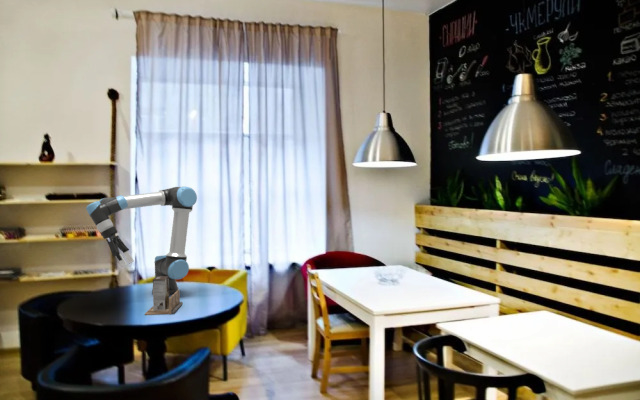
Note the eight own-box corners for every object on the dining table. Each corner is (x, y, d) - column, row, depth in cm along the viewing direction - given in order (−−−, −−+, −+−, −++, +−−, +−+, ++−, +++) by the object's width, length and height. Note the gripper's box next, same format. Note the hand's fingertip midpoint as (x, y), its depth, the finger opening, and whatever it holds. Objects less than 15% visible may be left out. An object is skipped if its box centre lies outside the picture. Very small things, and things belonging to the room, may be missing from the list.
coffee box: (157, 306, 248) (157, 276, 248) (169, 306, 249) (169, 275, 249) (152, 310, 239) (152, 279, 239) (165, 310, 240) (165, 279, 239)
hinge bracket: (155, 305, 254) (155, 290, 254) (182, 304, 255) (182, 289, 255) (144, 315, 234) (144, 299, 234) (174, 314, 235) (174, 298, 235)
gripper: (108, 231, 258) (128, 264, 259) (92, 234, 233) (114, 271, 234) (120, 224, 259) (140, 257, 260) (106, 226, 234) (128, 263, 235)
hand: (128, 264), depth 247 cm, fingers open, 13 cm apart
